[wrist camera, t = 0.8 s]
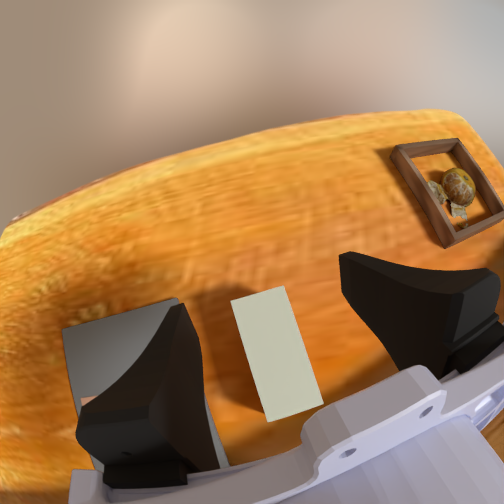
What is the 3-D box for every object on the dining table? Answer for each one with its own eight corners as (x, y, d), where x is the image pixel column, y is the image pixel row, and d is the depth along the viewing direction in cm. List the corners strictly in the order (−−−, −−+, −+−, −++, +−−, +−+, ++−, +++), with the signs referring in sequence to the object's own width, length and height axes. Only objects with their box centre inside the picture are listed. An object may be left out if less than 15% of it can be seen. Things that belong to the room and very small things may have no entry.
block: (311, 398, 24) (323, 403, 19) (265, 413, 23) (267, 422, 19) (278, 301, 28) (283, 285, 23) (234, 314, 27) (230, 300, 23)
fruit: (420, 194, 33) (432, 177, 30) (438, 164, 36) (448, 149, 32) (464, 234, 31) (479, 220, 27) (477, 199, 33) (489, 186, 30)
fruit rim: (499, 222, 31) (508, 214, 29) (444, 249, 30) (455, 240, 27) (451, 147, 37) (457, 137, 35) (389, 157, 35) (395, 145, 33)
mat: (246, 505, 19) (246, 508, 18) (119, 516, 17) (117, 519, 17) (178, 299, 28) (176, 297, 27) (64, 330, 26) (61, 329, 25)
